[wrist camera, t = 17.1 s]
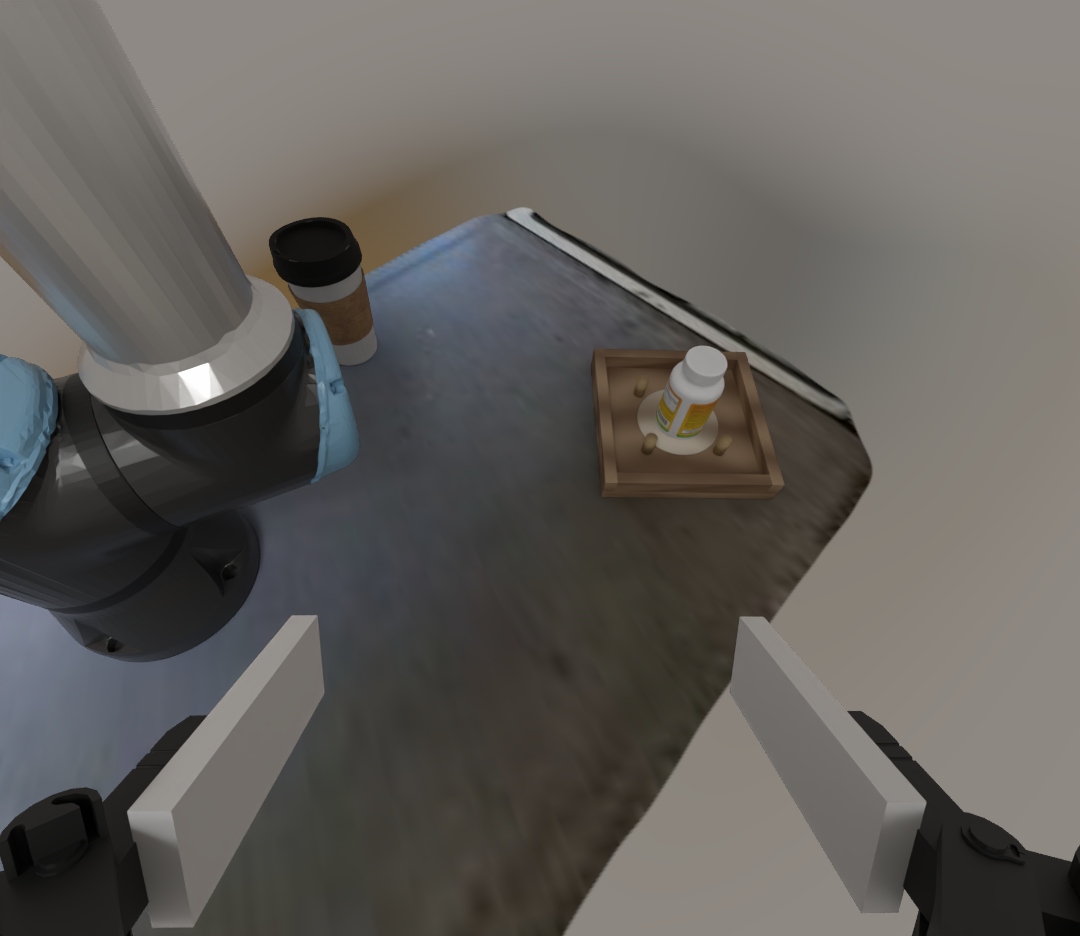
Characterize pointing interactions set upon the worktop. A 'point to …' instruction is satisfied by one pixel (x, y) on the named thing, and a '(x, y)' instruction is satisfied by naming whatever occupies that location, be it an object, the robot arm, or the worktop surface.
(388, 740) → the worktop surface
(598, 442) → the pin tray
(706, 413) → the supplement bottle
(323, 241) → the coffee cup
